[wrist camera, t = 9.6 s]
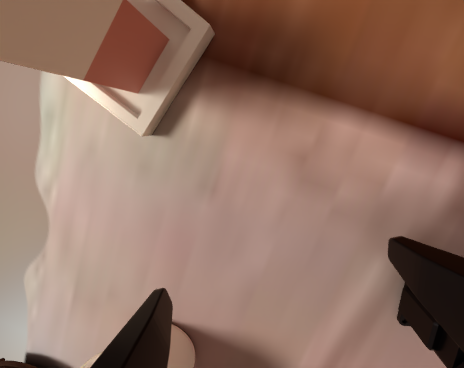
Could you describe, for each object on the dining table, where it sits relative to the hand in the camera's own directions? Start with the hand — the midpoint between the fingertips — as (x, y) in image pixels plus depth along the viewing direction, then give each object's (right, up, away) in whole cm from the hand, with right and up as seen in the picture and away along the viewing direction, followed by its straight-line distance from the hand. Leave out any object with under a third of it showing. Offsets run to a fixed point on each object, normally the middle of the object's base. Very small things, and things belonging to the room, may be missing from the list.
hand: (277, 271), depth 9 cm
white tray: (-10, +15, +10) cm, 21 cm away
